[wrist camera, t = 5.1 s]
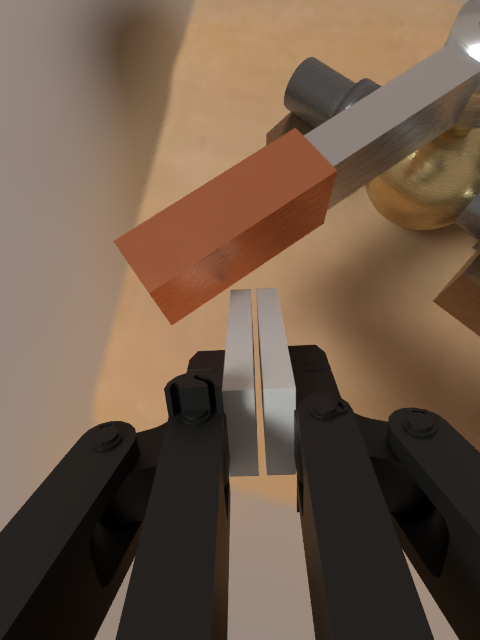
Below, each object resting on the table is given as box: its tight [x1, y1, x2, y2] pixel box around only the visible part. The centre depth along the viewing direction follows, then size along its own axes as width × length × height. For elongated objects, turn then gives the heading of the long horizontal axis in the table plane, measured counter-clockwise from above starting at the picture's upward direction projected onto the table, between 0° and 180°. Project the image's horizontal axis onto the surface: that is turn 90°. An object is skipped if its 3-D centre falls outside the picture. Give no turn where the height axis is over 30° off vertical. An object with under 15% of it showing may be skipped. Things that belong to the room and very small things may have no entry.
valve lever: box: [114, 0, 480, 325], centre depth 15 cm, size 18×4×4 cm, turn 125°
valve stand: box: [266, 57, 480, 336], centre depth 23 cm, size 18×7×10 cm, turn 46°
